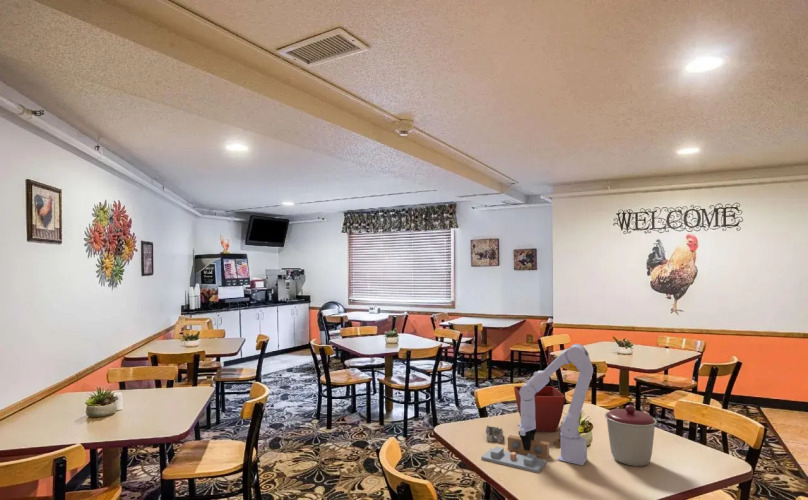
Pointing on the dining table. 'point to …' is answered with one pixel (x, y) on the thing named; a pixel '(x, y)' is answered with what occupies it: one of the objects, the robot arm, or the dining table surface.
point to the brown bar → (535, 448)
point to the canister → (631, 435)
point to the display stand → (514, 459)
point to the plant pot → (545, 408)
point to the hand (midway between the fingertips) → (528, 448)
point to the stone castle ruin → (494, 434)
